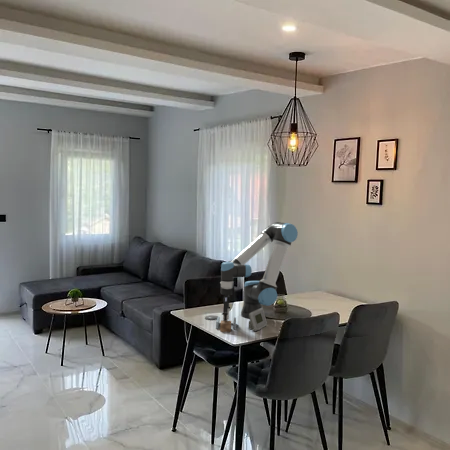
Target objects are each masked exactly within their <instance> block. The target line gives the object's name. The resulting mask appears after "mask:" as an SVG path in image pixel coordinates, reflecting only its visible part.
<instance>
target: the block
mask: <svg viewBox="0 0 450 450" xmlns="http://www.w3.org/2000/svg"><path fill="white" fill-rule="evenodd" d="M231 323H232V320H228V321H223V319H222V320H221V321H220V322H219V329H220V332H222V333H224V332H225V333H231V331H232V325H231Z"/></svg>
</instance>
